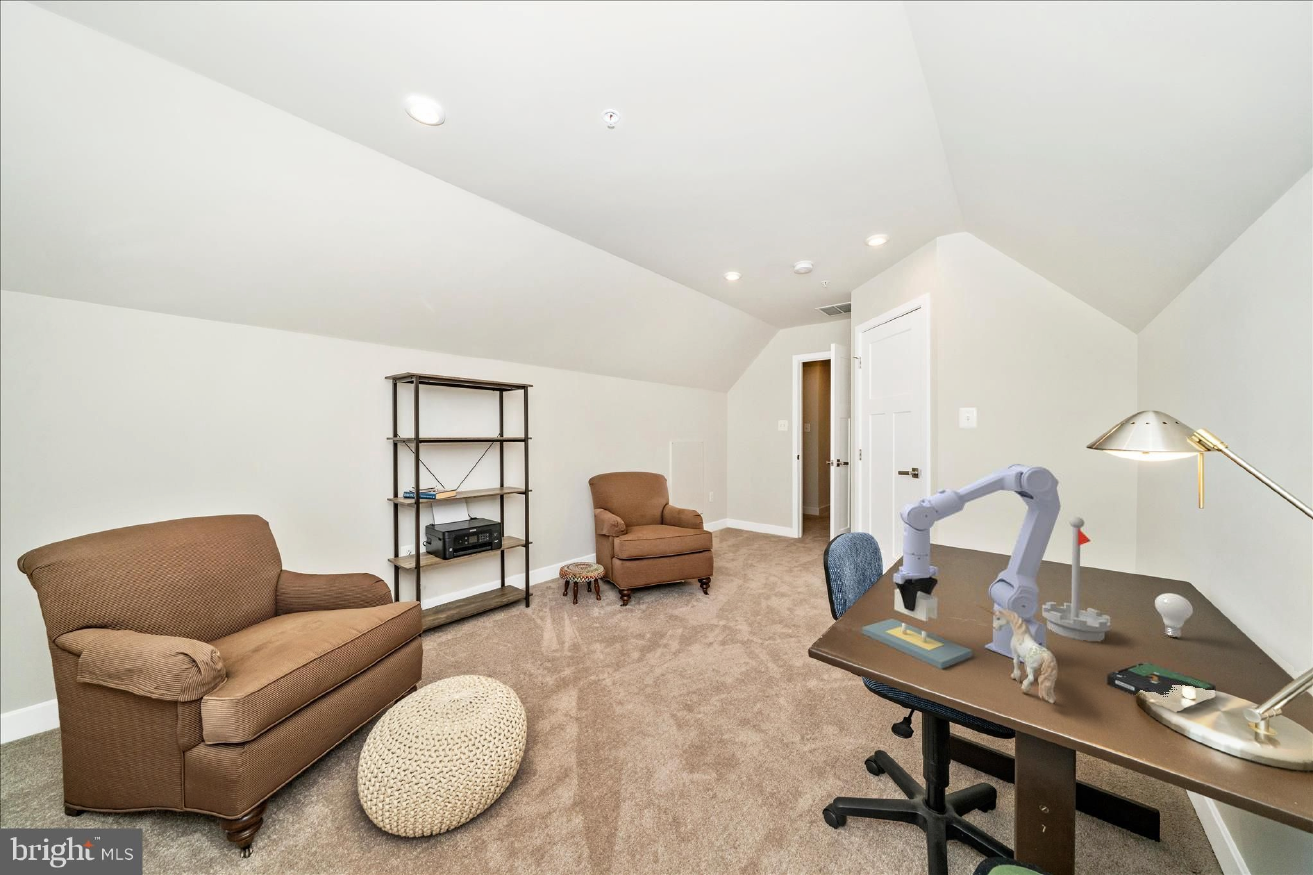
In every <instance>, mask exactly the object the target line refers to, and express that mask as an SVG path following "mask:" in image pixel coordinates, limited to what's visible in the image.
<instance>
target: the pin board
mask: <svg viewBox="0 0 1313 875" xmlns="http://www.w3.org/2000/svg"><path fill="white" fill-rule="evenodd" d="M861 634H863V635H866V636H867V637H869V636H870V637H869V638H871V639H873V640H876V641H878V642H880V643H883V644H885V645H888V646H889V647H891V648H893V649H896V650H898V651H901V652H903V653H905V654H906V655H909V656H911V657H913V658H915V659H918V660H920V661H922V662H924V663H926V664H929V665H932V666H933V667H935V668H938V669H939V670H943V669H946V668H948V667H950V666H952V665H955V664H957V663H960V662H963V661H965V660H968V659H970V658H972V657H973V650H972V649H971V648H968V647H965V646H963V645H960V644H957V643H955V642H953V641H950V640H947V639H946V638H942V637H939V636H937V635H935V634H932V633H930V632H927V631H924V630H921V629H920V628H917V627H914V626H912V625H909V624H907V623H904V622H902V621H899V620H897V619H893V618H890V619H886V620H882V621H879V622H876V623H873V624H869V625H866V626H865V625H864V626H862V627H861Z"/></svg>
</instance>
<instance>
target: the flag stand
mask: <svg viewBox="0 0 1313 875" xmlns="http://www.w3.org/2000/svg"><path fill="white" fill-rule="evenodd" d="M1068 523H1069V525H1070V526H1071V527H1072V542H1071V544H1072V549H1071V550H1072V551H1071V555H1072V556H1071V603H1067V602H1063V606H1058V604H1057V603H1056V602H1054V601H1049V602H1045V604H1042V608H1041V609H1042V610H1041V614H1042V615H1041V616H1042V617H1044V619H1046V628H1047V629H1049V630H1050V629H1051V630H1052V632H1053V631H1054V633H1056V634H1057V633H1058V635H1061V636H1063V637H1066V636H1067V637H1066V638H1070V639H1073V638H1075V639H1074V640H1078V641H1083V640H1090V641H1089V642H1093V641H1098V640H1103V639H1104V640H1105V632H1107V631H1110V630H1111V617H1110V616H1109V615H1106V614H1102V615H1101V611H1100V610H1097V609H1094V608H1092V607H1088V608H1087V609H1086V610H1082V609H1080V593H1081V592H1080V590H1081V588H1080V585H1081V582H1080V581H1081V578H1080V577H1081V546H1082V545H1084V544H1088V543H1090V542H1091V541H1092V540H1091V539H1090V538H1089V537H1087V535H1086V534H1085V533H1084V532H1083V531H1082V530H1081V528H1083V527H1084V526H1085V520H1084V519H1083V518H1082V517H1079V516H1072V517H1070V519H1069V521H1068ZM1051 630H1050V631H1051ZM1104 640H1103V641H1104ZM1098 642H1099V641H1098Z"/></svg>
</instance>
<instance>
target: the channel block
mask: <svg viewBox="0 0 1313 875" xmlns="http://www.w3.org/2000/svg"><path fill="white" fill-rule="evenodd" d="M894 610H895V611H897V612H899V613H902V614H905V615H907V616H910V617H913V618H914V619H915V618H916V619H918V620H920V621H924V622H928V621H929V618H931V619H937V618H938V597H937V596H934V595H932V594H931V595H928V594H925V593H922V592H919V591H918V593H917V597H916V605H915V610H914V611H910V610H907V609H905V608H904V604H903V600H902V597H901V594H900V591H899V589H898V588H896V589H894Z"/></svg>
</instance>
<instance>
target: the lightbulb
mask: <svg viewBox="0 0 1313 875" xmlns="http://www.w3.org/2000/svg"><path fill="white" fill-rule="evenodd" d="M1154 606H1155V609H1156V610H1157V612H1158V613H1159V615H1160V616H1161V618H1162V620H1163V624H1164V629H1165V630H1164V631H1165V632H1164V634H1165V633H1166V634H1165V635H1167V634H1168V635H1173V636H1181V635H1182V631H1181V630H1182V627H1183V626H1184V623H1185V621H1186V620H1188V619H1189V618H1190V617H1191V616H1192V614H1193V612H1194V610H1193V608H1194V607H1193V606H1192V604H1191V602H1190V601H1189V600H1188V599H1186V598H1185V597H1183V596H1182V595H1179V594H1176V593H1171V592H1170V593H1169V592H1167V593H1162V594H1160V595H1158V596H1157V597H1156V598H1155V600H1154ZM1168 635H1167V636H1168ZM1181 637H1182V636H1181Z"/></svg>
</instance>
